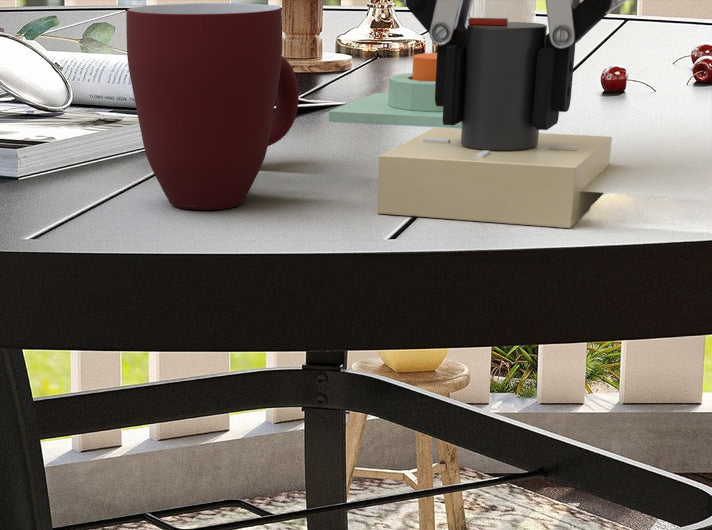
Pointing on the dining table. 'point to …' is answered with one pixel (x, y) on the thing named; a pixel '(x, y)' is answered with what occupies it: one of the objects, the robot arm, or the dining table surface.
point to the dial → (500, 84)
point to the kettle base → (396, 106)
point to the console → (492, 179)
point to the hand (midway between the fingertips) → (500, 120)
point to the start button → (424, 67)
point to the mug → (209, 96)
